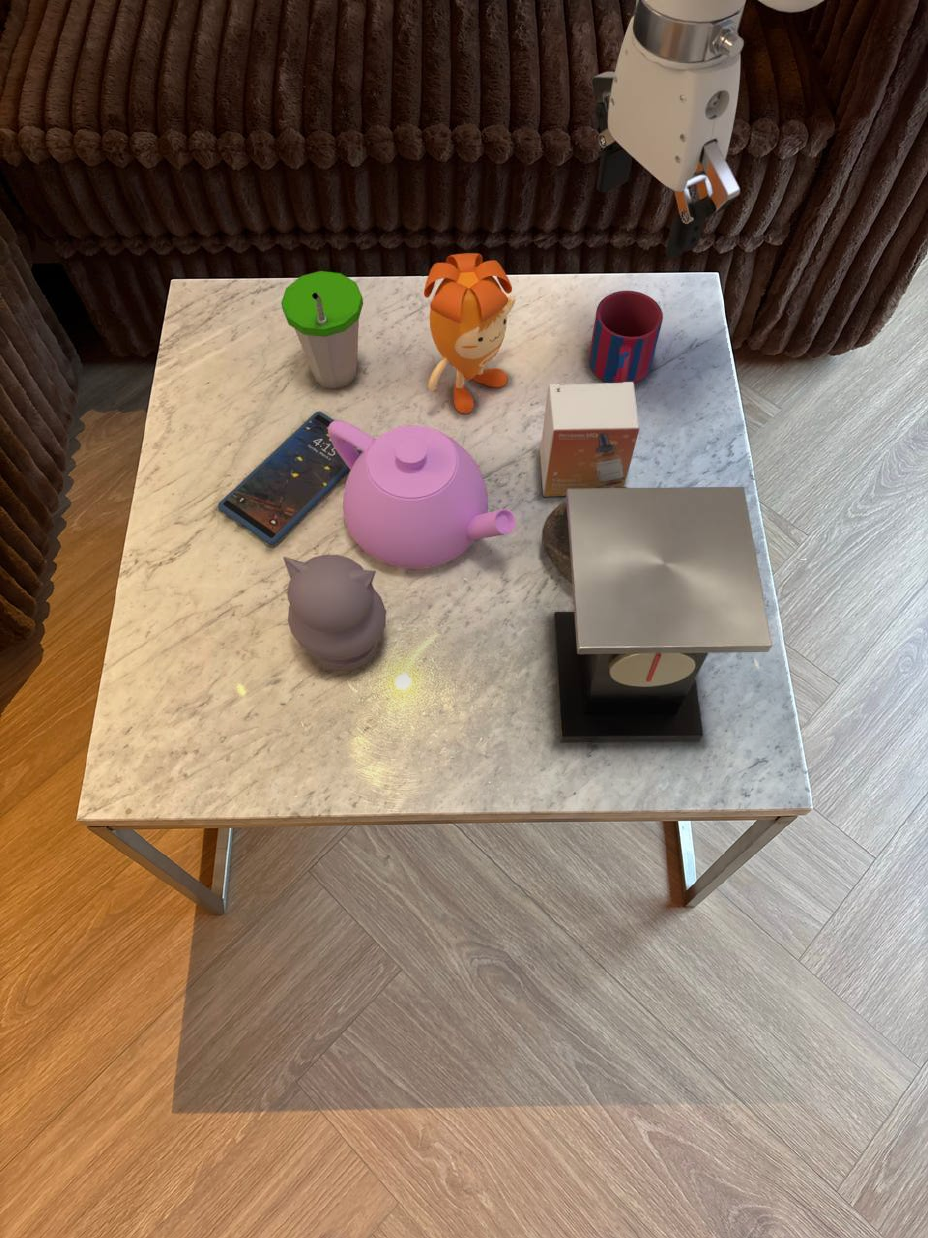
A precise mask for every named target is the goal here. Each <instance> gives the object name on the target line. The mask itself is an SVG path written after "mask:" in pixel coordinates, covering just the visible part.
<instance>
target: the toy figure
mask: <svg viewBox="0 0 928 1238" xmlns="http://www.w3.org/2000/svg"><path fill="white" fill-rule="evenodd" d="M483 259H484V258H483V255H482V254H481V253H477V252H476V253H475V252H467V253H456V254H451V255H449V256H447V257H446V259H445V262H436V263H434V264H433V265H432V267H431V268H430V271H429V274H428V276H427V278H426V282H425V285H424V288H423V296H424V297H425V298H427V299H428V298H430V297H431V295H432V293H433V290H434V288H435V285H436V282H437V281H439V280H442V281H441V282H440V283H439V285H438V287H437V289H436V290H435V292H434V295H433V297H432V300H431V301H430V304H429V308H430V310H429V327H430V333H431V337H432V340H433V343H434V345H435V347H436V349H437V351H438V353H439V355H441V357H442V358H441V360H440V361H439V362H438V363H437V365H436V366H435V367H434V369H433V371H432V373H431V375H430V377H429V379H428V385H427V388H428V390H429V391H434V390H436V389H437V385H438V381H439V379H440V377H441V374H442V373H443V371H444V370H445V368H446V367H447V366H448V364H449V365H450V366H452V367H453V368H454V369H455V370H456V377H455V384H454V387H453V403H454V407H455V409H456V410H457V412H459V413H460V414H465V415H466V414H469V413H471V412H472V411H473V410H474V407H475V402H474V399H473V397H472V395H471V394H470V392H469V391H468V390H467V388H466V386H465V380H466V381H472V380H473V381H474V382H476V383H478V384H481V385H485V386H488V387H491V388H502V387H504V386H505V385H507V383H508V381H509V378H508V377H509V376H508V375H507V373H506V372H505V370H503V369H502V368H495V367H494V368H493V367H492V368H488V369H484V367H485V366H486V365H487V364H488V363H490V362H491V361H492V360H493V358H495V357H496V355H497V354H498V353H499V350H500V348H501V347H502V344H503V342H504V339H505V336H506V330H507V326H508V325H507V324H508V315H509V314H510V313H511V311H512V309H513V308H514V306H515V303H516V300H517V299H516V297H515V296H513V295H509V294H511V293H512V291H513V286H512V283H511V281H510V279H509V277H508V276H507V273H506V271H505V270H504V269H503V266H502V265H501V264H500V263H499V262H498V261H497V260H493V259H492V260H491V259H490V260H486V261H484V262H483ZM494 277H496V279H497V280H496V279H495V278H494ZM502 289H503V290H502ZM506 294H508V295H509V296H507V295H506Z"/></svg>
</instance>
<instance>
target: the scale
mask: <svg viewBox="0 0 928 1238" xmlns="http://www.w3.org/2000/svg"><path fill="white" fill-rule="evenodd" d="M565 500H566V502H567V516H568V530H569V544H570V558H571V572H572V584H571V585H572V597H573V598H572V599H573V611H554V612H553V616H552V617H553V618H552V624H553V625H552V626H553V640H554V641H553V642H554V658H555V674H556V675H555V676H556V677H555V678H556V691H557V692H556V693H557V695H556V696H557V706H558V707H557V711H558V726H559V727H558V728H559V742H560V743H561V744H566V743H567V744H570V743H573V744H574V743H578V744H579V743H580V744H581V743H663V742H665V743H666V742H667V743H668V742H669V743H670V742H677V743H679V742H700V741H701V739H702V738H703V737H704V731H703V725H702V717H701V716H702V715H701V709H700V702H699V701H700V700H699V695H698V694H699V693H698V687H697V676H698V674H699V672H700V671H701V669H702V666H703V665H704V663H705V661H706V659H707V657H708V655H709V654H711V653H712V654H717V653H720V654H721V653H726V654H727V653H728V654H729V653H769V652H770V650H771V649H772V647H773V644H772V638H771V631H770V626H769V621H768V615H767V610H766V609H767V608H766V603H765V598H764V597H765V596H764V591H763V586H762V581H761V580H762V579H761V575H760V569H759V563H758V559H757V554H756V547H755V541H754V535H753V530H752V524H751V518H750V512H749V507H748V501H747V495H746V489H745V486H697V487H696V486H694V487H690V486H686V487H684V486H683V487H682V486H681V487H627V488H585V489H567V494H566V496H565Z"/></svg>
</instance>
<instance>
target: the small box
mask: <svg viewBox="0 0 928 1238" xmlns="http://www.w3.org/2000/svg"><path fill="white" fill-rule="evenodd" d="M636 397H637V396H636V389H635V383H633V382H623V383H607V382H605V383H603V382H600V383H599V382H598V383H597V382H596V383H554V382H553V383H549V384H548V385H547V393H546V399H545V409H544V419H543V427H542V434H541V443H540V448H539V456H540V469H541V470H540V472H541V481H542V482H541V483H542V496H543V497H546V498H549V497H550V498H551V497H566V494H567V489H585V488H593V487H598V486H607V485H616V486H623V487H626V483H627V479H628V475H629V471H630V466H631V463H632V460H633V456H634V452H635V448H636V444H637V441H638V437H639V433H640V423H639V421H640V420H639V414H638V405H637V398H636Z"/></svg>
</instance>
